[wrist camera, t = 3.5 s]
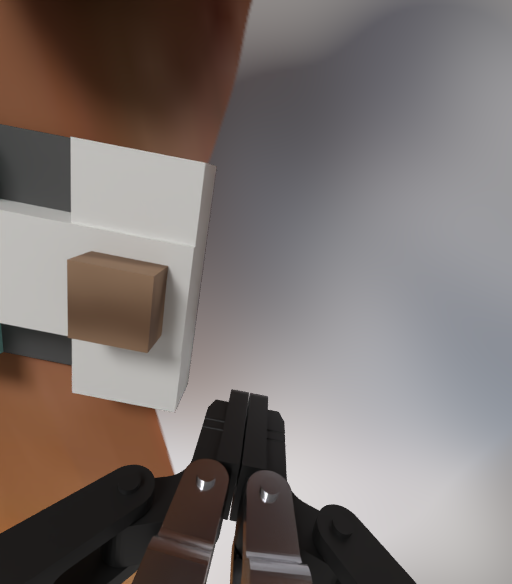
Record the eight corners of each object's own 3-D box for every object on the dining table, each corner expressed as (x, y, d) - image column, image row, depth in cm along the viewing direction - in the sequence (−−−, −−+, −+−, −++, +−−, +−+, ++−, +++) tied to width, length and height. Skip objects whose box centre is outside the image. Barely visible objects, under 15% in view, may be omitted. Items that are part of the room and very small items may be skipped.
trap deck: (-139, 97, 22) (-225, 79, 18) (216, 166, 22) (204, 162, 18) (-94, 329, 28) (-152, 351, 24) (187, 383, 28) (173, 415, 24)
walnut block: (91, 250, 20) (67, 259, 18) (168, 265, 20) (153, 276, 18) (90, 321, 22) (67, 337, 20) (161, 335, 22) (147, 353, 20)
